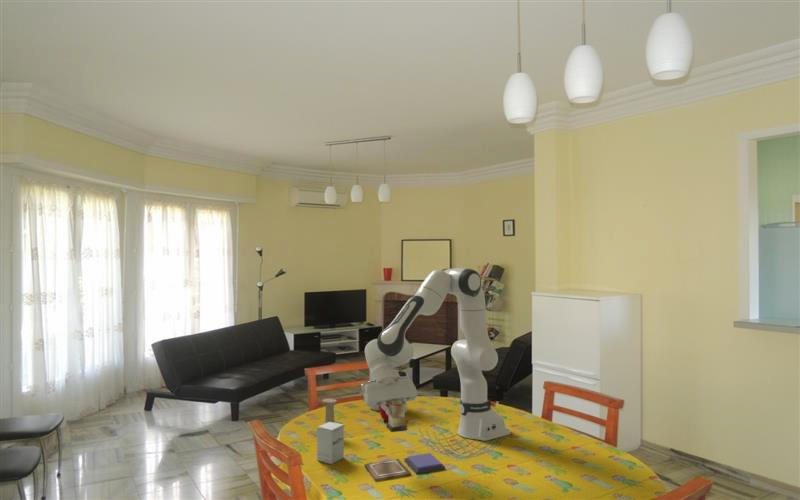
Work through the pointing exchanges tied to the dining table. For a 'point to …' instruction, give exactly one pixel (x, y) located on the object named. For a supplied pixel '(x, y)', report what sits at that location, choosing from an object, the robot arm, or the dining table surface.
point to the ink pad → (424, 463)
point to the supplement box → (330, 442)
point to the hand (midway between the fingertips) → (397, 412)
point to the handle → (329, 409)
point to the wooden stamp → (396, 416)
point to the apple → (384, 413)
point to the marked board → (387, 469)
